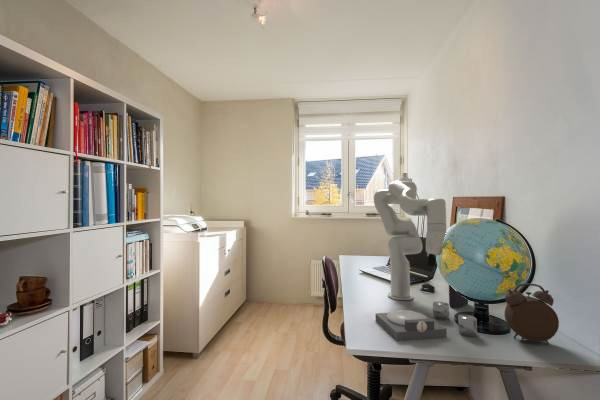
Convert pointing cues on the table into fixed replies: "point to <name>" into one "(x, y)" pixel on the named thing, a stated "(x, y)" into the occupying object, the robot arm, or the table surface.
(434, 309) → the cylinder
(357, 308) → the table surface
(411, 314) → the scale
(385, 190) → the robot arm
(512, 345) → the table surface
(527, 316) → the alarm clock
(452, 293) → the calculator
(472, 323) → the cylinder
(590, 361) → the table surface
